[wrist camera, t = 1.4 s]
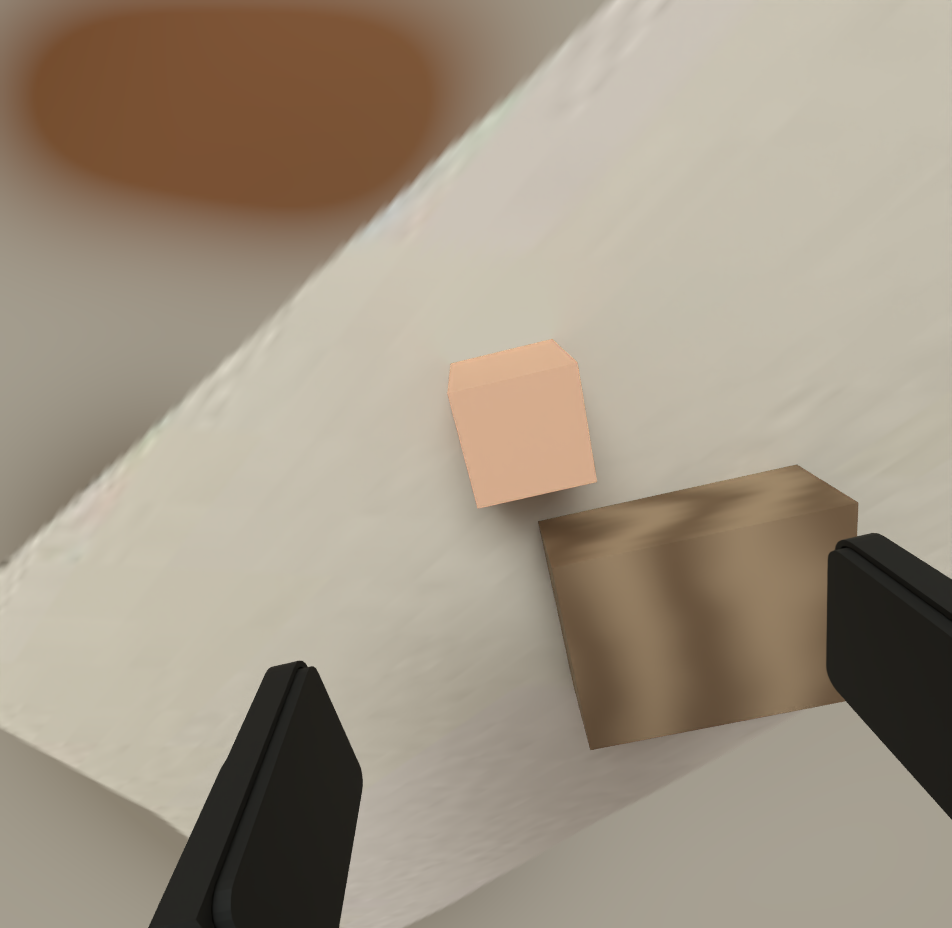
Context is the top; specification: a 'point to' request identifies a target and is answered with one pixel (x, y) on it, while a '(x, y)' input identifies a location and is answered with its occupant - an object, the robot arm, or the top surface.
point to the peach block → (521, 422)
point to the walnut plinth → (698, 603)
